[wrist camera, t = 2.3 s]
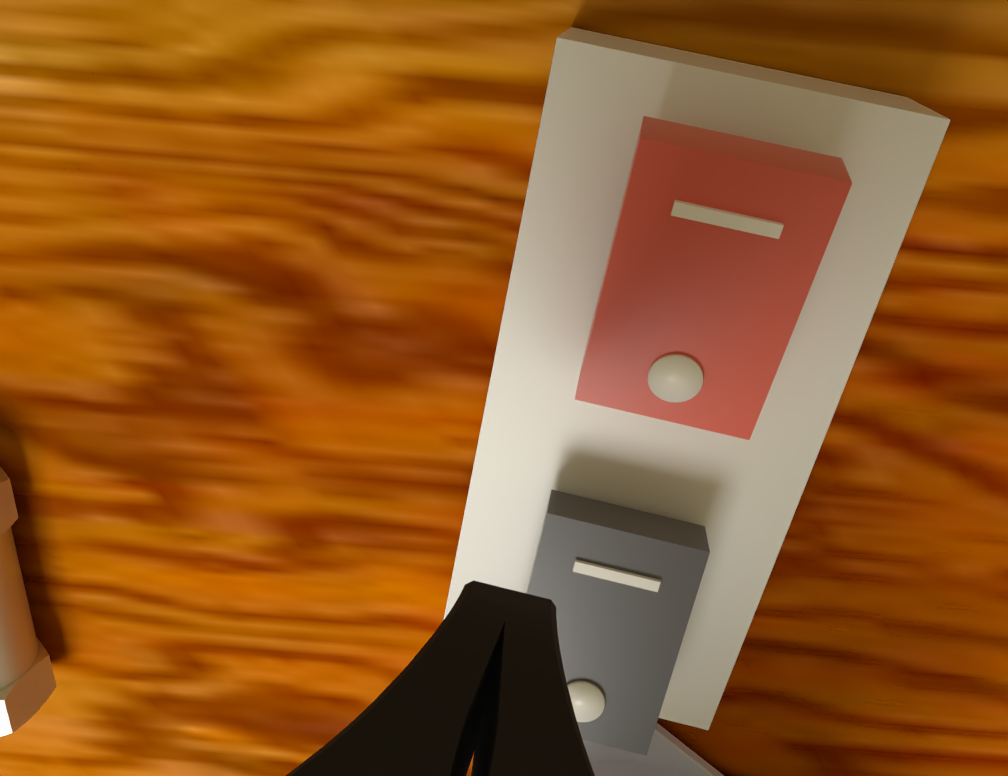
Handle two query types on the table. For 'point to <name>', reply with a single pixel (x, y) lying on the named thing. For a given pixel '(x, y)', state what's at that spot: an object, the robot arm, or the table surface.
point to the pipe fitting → (17, 632)
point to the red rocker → (708, 274)
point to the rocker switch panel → (572, 302)
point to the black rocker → (617, 609)
